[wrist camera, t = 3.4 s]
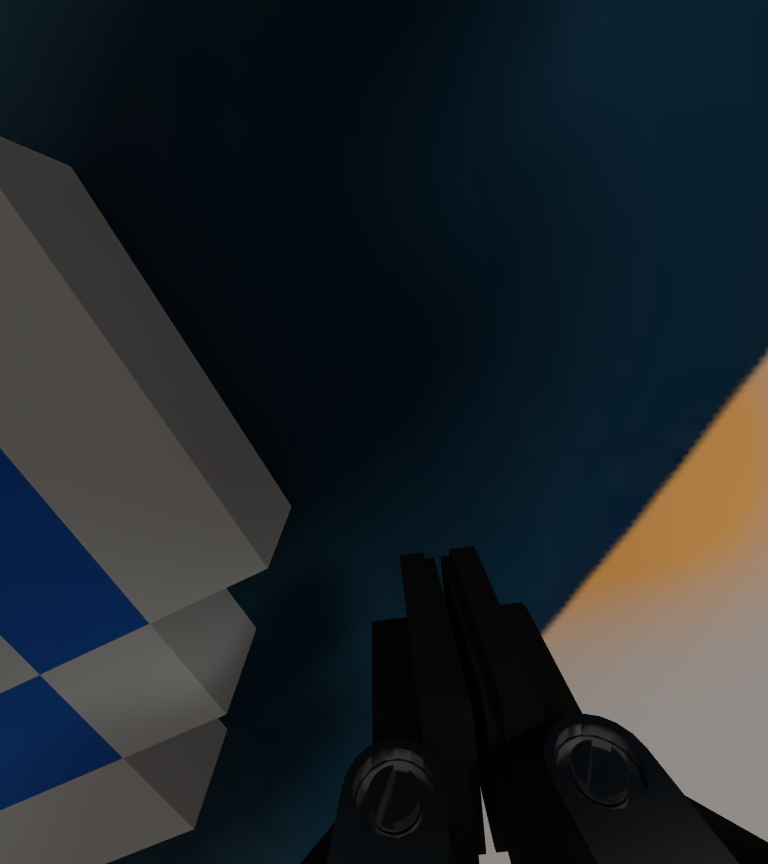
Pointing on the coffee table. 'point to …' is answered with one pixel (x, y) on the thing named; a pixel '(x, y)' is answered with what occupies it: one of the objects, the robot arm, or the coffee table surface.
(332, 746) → the coffee table surface
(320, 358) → the coffee table surface
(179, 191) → the coffee table surface
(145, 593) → the pixel art tile
